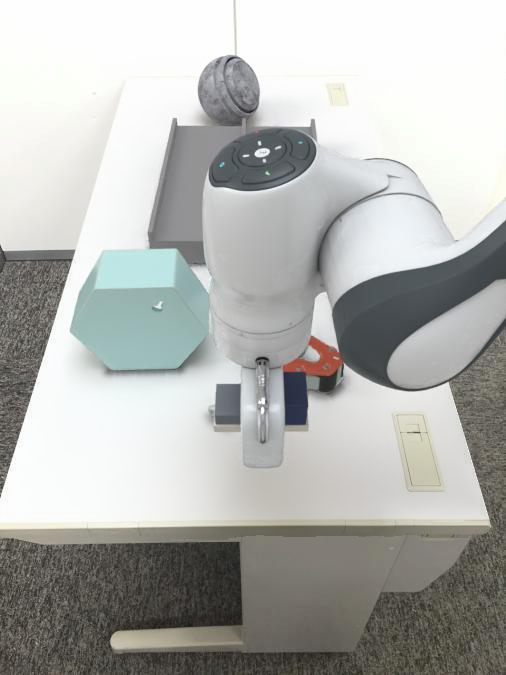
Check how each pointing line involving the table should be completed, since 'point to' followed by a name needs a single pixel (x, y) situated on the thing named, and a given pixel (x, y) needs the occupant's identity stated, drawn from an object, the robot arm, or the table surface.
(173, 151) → the desk organizer
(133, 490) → the table surface
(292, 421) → the navy lidded box
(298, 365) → the tape dispenser
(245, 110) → the decorative orb
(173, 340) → the cyan faceted polyhedron
